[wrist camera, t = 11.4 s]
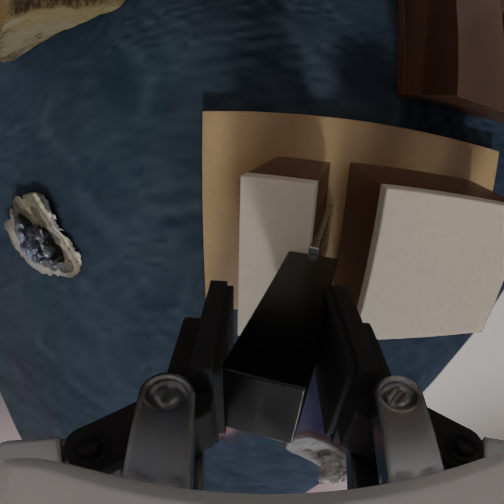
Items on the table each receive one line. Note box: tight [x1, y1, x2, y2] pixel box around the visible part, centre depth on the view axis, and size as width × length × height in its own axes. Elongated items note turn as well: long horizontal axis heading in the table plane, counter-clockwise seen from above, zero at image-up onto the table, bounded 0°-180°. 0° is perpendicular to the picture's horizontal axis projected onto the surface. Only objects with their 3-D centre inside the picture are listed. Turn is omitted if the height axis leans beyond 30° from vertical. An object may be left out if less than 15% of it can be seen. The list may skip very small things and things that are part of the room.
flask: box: [284, 369, 347, 484], centre depth 21 cm, size 9×3×11 cm, turn 36°
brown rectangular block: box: [238, 156, 330, 336], centre depth 16 cm, size 3×8×6 cm, turn 179°
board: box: [202, 111, 499, 309], centre depth 20 cm, size 20×13×1 cm, turn 88°
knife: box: [223, 204, 337, 443], centre depth 13 cm, size 2×3×14 cm, turn 179°
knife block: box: [397, 0, 504, 122], centre depth 12 cm, size 7×7×7 cm
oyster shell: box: [4, 192, 82, 278], centre depth 20 cm, size 7×8×2 cm
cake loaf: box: [334, 162, 504, 340], centre depth 17 cm, size 9×8×6 cm
